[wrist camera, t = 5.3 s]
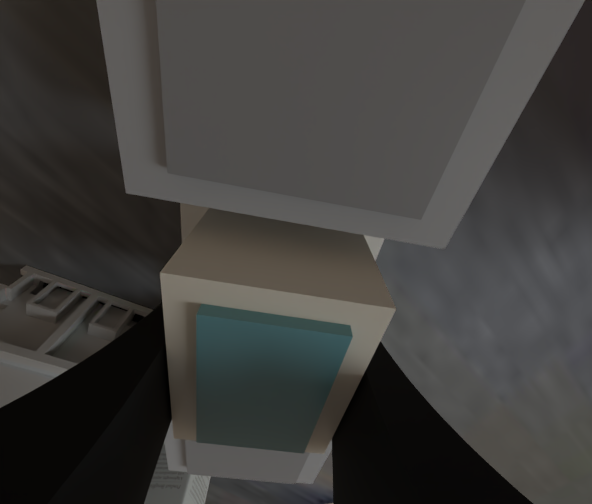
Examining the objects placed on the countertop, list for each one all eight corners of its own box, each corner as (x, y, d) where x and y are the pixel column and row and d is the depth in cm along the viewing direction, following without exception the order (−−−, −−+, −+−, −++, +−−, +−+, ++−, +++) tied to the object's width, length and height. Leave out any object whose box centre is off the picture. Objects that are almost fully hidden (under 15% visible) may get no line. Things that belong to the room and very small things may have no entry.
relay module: (348, 200, 10) (401, 319, 5) (314, 315, 14) (324, 465, 8) (231, 179, 10) (152, 282, 5) (223, 301, 13) (169, 449, 8)
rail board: (463, 8, 9) (763, -123, 3) (321, 372, 20) (329, 496, 14) (184, -64, 8) (-104, -411, 2) (193, 355, 19) (145, 480, 13)
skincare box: (156, 454, 27) (114, 565, 21) (137, 423, 24) (79, 543, 18) (217, 455, 27) (192, 566, 21) (205, 423, 24) (171, 545, 18)
